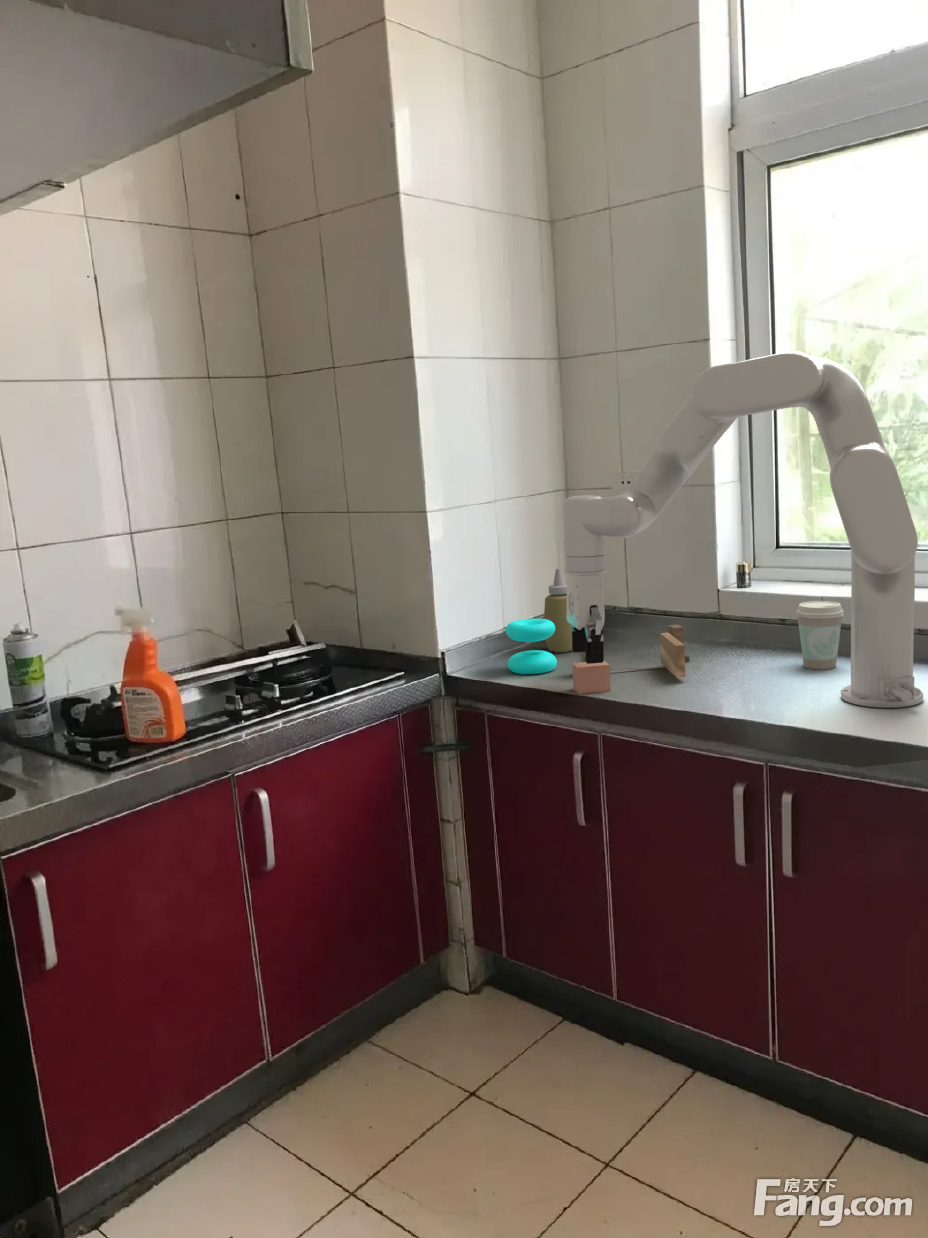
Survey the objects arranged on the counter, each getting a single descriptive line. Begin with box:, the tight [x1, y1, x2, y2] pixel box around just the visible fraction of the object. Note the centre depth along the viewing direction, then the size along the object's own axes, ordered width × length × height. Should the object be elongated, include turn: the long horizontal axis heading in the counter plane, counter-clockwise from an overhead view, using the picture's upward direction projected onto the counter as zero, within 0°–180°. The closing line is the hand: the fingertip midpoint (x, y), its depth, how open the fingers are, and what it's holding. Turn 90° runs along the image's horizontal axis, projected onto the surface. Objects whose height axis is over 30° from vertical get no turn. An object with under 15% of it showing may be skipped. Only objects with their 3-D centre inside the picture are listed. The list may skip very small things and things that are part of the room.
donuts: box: [505, 618, 558, 675], centre depth 201 cm, size 10×10×10 cm
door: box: [659, 632, 691, 678], centre depth 190 cm, size 3×12×6 cm, turn 2°
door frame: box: [579, 624, 684, 675], centre depth 196 cm, size 3×20×8 cm, turn 98°
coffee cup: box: [795, 600, 845, 671], centre depth 189 cm, size 9×8×12 cm
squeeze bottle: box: [543, 568, 573, 653], centre depth 217 cm, size 8×8×18 cm
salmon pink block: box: [571, 660, 611, 695], centre depth 183 cm, size 4×6×5 cm, turn 97°
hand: (587, 657), depth 182 cm, fingers open, 9 cm apart
